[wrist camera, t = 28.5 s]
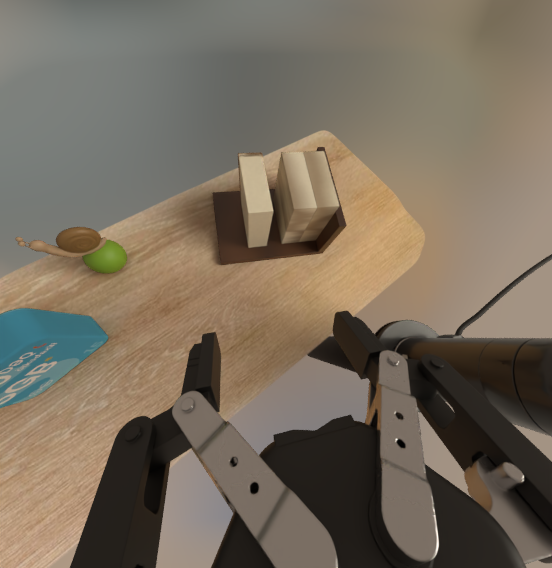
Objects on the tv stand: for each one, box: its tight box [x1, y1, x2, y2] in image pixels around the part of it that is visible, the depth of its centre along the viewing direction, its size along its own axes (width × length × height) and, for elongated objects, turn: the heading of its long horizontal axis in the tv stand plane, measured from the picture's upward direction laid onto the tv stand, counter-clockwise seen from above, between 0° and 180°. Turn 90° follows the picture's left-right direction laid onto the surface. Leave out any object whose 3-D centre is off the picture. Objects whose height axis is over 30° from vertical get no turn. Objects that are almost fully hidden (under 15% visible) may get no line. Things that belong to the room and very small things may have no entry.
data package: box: [0, 308, 108, 408], centre depth 25 cm, size 12×4×12 cm, turn 135°
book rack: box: [213, 147, 346, 265], centre depth 35 cm, size 20×15×12 cm
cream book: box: [238, 153, 273, 248], centre depth 34 cm, size 4×10×11 cm, turn 10°
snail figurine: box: [16, 227, 127, 273], centre depth 29 cm, size 5×6×12 cm
